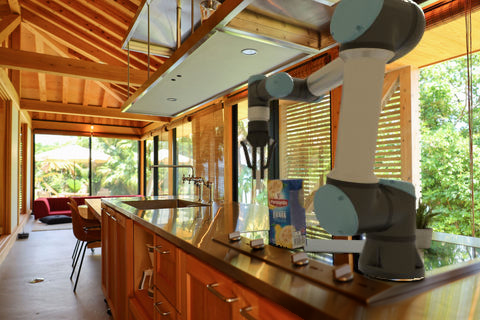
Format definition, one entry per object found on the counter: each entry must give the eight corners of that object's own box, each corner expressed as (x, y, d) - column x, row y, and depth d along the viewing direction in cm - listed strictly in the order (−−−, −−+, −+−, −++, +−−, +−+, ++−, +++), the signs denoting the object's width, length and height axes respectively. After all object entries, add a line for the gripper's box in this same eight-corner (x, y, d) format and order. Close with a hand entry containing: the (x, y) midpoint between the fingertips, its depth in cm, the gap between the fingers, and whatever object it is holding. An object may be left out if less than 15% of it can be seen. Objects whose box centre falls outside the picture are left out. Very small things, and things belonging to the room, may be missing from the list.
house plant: (417, 253, 103) (417, 200, 103) (386, 243, 116) (386, 196, 117) (455, 250, 107) (454, 198, 107) (420, 241, 120) (420, 195, 121)
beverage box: (284, 240, 121) (281, 179, 121) (307, 245, 112) (303, 178, 112) (270, 243, 117) (267, 180, 118) (292, 248, 108) (288, 179, 108)
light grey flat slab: (378, 254, 102) (378, 252, 102) (304, 252, 105) (304, 250, 105) (364, 241, 120) (364, 240, 120) (301, 240, 122) (301, 238, 122)
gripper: (277, 122, 120) (277, 188, 119) (241, 122, 121) (241, 188, 121) (277, 119, 112) (277, 190, 112) (238, 119, 114) (238, 189, 113)
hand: (258, 189), depth 116 cm, fingers closed
